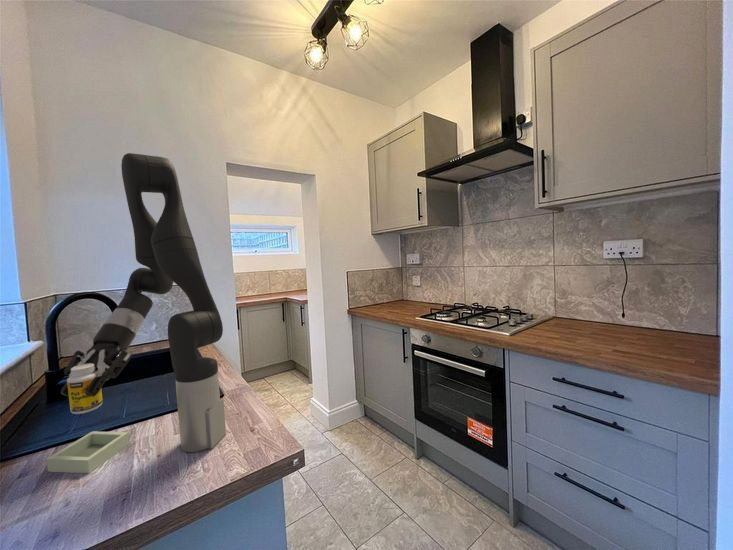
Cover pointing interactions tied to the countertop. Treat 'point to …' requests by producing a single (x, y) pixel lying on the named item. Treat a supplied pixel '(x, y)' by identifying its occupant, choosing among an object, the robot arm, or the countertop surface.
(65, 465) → the socket block
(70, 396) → the supplement bottle
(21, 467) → the countertop surface
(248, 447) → the countertop surface
